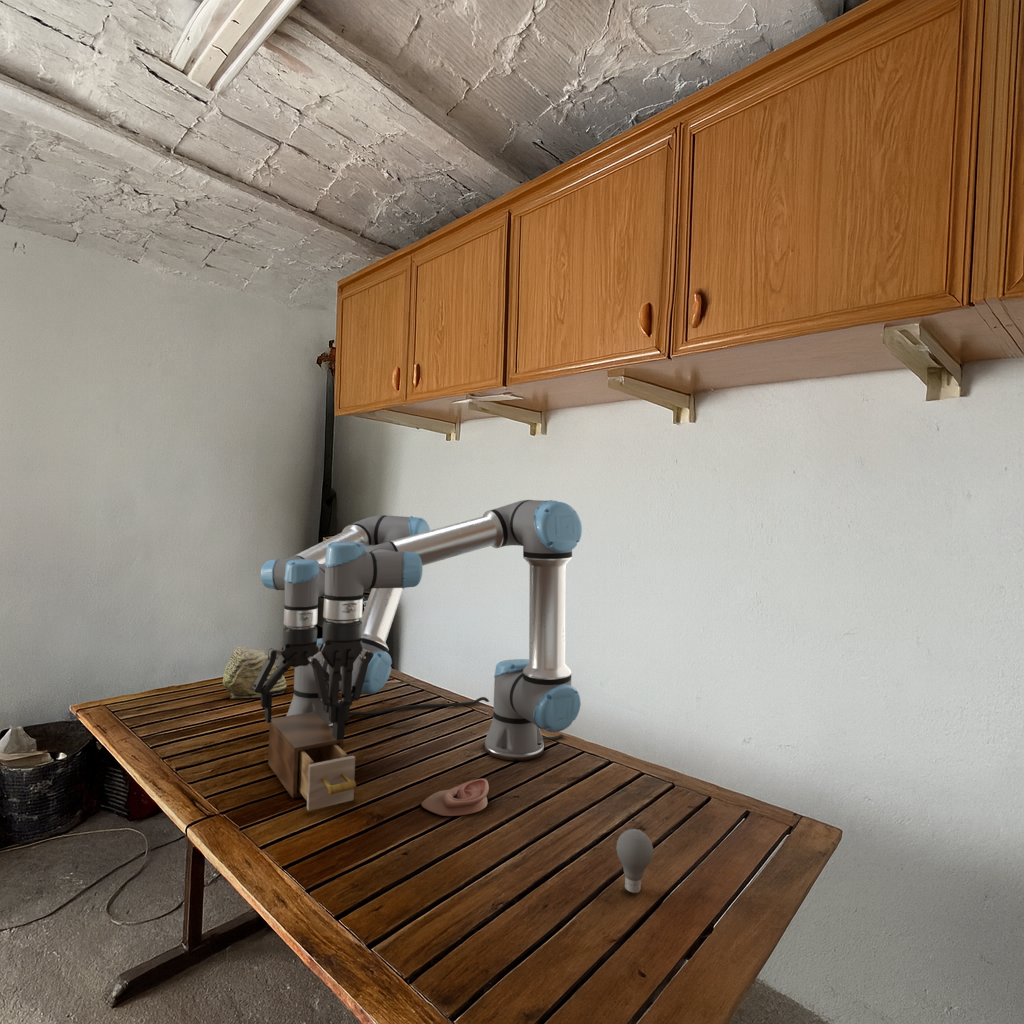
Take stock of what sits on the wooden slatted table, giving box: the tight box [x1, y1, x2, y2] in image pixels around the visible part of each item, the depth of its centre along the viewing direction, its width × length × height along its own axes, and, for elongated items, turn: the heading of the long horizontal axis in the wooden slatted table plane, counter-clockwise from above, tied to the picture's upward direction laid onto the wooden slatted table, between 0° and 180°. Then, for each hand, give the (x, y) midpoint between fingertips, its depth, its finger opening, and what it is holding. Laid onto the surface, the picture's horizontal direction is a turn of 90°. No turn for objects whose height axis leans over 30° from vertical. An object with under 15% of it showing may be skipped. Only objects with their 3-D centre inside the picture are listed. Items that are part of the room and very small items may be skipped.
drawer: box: [297, 744, 357, 812], centre depth 134 cm, size 25×9×9 cm, turn 35°
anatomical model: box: [421, 778, 490, 817], centre depth 133 cm, size 13×4×12 cm
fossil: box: [222, 646, 288, 699], centre depth 198 cm, size 9×18×15 cm, turn 132°
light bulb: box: [615, 828, 654, 894], centre depth 106 cm, size 6×6×10 cm
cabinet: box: [267, 712, 345, 799], centre depth 143 cm, size 20×10×11 cm, turn 35°
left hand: (298, 716), depth 149 cm, fingers open, 13 cm apart
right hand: (338, 737), depth 126 cm, fingers closed
